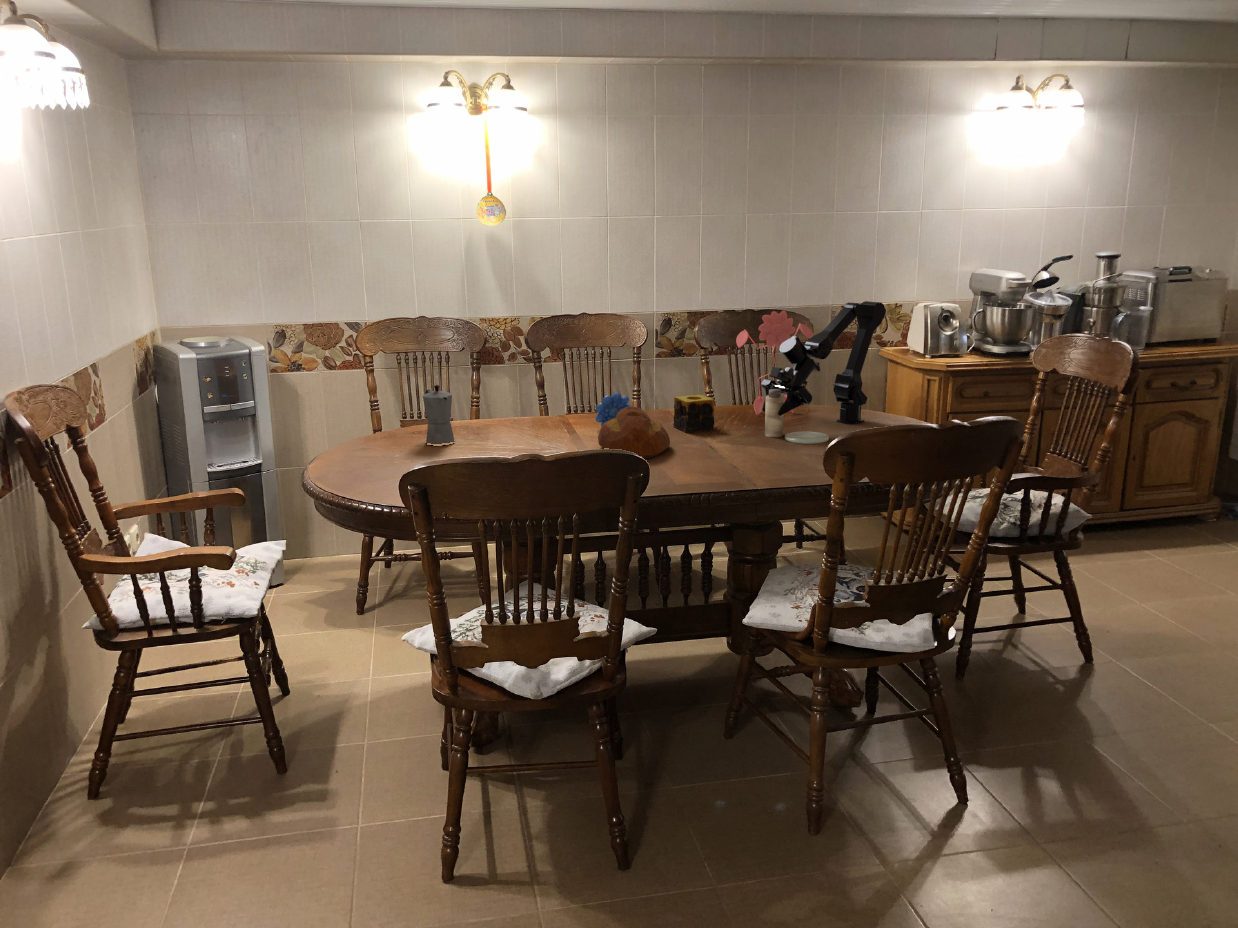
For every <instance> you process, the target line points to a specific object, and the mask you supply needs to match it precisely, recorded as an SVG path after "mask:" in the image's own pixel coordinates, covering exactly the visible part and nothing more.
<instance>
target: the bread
mask: <svg viewBox="0 0 1238 928" xmlns="http://www.w3.org/2000/svg"><path fill="white" fill-rule="evenodd" d="M597 441H598V445H599V446H600V447H601V448H602V449H603V448H609V449H622V450H626V451H630V452H634V453H636V454H638V455H639V456H642V457H643V458H645V459H650V458H653V457H656V456H657V455H660V454H661V453H663V452H664V451H666V450H667V449H668V448H669V446H670V444H671V439H670V436H669V433H668V431H667V430H666V428H665V426H664V425H662V423H659V422H657V421H655V420H652V419H651V417H650V416H649V415H648V412H645V411H644V410H643V409H642V408H640V407H637V406H633V405H630V407H627V408H623V409H621V410H620V411H619V412H618V413H617V415H616V418H613V419H611V420H609V421H607V422H605V423H604V424H603V425H602V427H601V426H600V429H599V432H598V435H597Z"/></svg>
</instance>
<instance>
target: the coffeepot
mask: <svg viewBox="0 0 1238 928" xmlns="http://www.w3.org/2000/svg"><path fill="white" fill-rule="evenodd" d="M422 398H423V399H422V401H423V404H424V405H423V406H424V409H425V414H426V418H427V429H426V430H427V431H426V440H425V441H426V442H425V444H426V443H431V444H442V443H450V442H456V440H455V436H454V431H453V427H452V422H451V417H452V416H451V414H452V413H451V412H452V401H453V394H452V392H447V391H444V390H443V391H442V390H440V385H438V384H435V385H434V390H431V389H426V390H425V392H424V394H423V393H422ZM454 440H455V441H454Z"/></svg>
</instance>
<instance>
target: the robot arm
mask: <svg viewBox="0 0 1238 928" xmlns="http://www.w3.org/2000/svg"><path fill="white" fill-rule="evenodd" d="M886 313H887V310H886V307H885V305H884V304H883V302H879V301H870V300H869V301H867V300H865V301H863V302H862V303H858V302H851V301H850V302H846V303H845V304H844V305H843V307H842V309H841V310H840V311H839V313H837V315H835V317H834V318H833V319H832V320H831V321H830V322H829V323H828V324H827V325H826V327H825V328H824V329H823V330H821V332H819V333H816V334H814V336H813V337H811V338H810V339H809V338H808V339H807V341H806V342H805V343H803V342H802V341H801V339H800V338H799V336H797V335H796V336H794V335H792V336H791V338H790V339H788V340H786V341H784V342H783V343H782V344H781V345H780V348H778V349H779V351H780V353H781V354H782V355H783V357H785V359H786V360H787V361H788V362H789V364H792V367H788V366H787V367H785V368H782V367H778V366H776V367H775V365H774V366H772V367H771V370H770V372H769V373H770V374H769V375H768V376H769V377H770V378H774V379H775V380H776V381H775V380H774V379H770V378H766V379H765V378H764V379H763V380H762V382H761V383H760V387H762V388H763V389H764V391H765V398H764V400H765V401H764V404H763V408H762V412H763V413H765V402H766V396H768V395H769V390H770V389H779V390H781V394H785V395H787V399H786V400H785V402H784V404H783V405H782V407H781V408H780V410H779V412H778V415H779V416H781V415H783V416H784V415H785V414H786V413H789V412H790V410H792V409H794V410H795V409H796V408H799V407H801V406H802V407H803V406H804V405H810V404H811V403H812V401H813V395H812V394H811V392H810V391H809V390H808V389H807V387H806V386H807V385H808V381H807V380H808V378H809V377H810V376H811V374H812V373H813V372H820V371H821V367H820V362H817V361H816V360H814V359H818V360H825V359H827V358H828V357H829V356H830V353H832V351H833V349H834V346H835V345H834V344H835V342H836V340H838V338H839V337H840V336H841V335H842V334H843V333H844V332H845V330H846V329H847V328H848V327H849V326H850V325H851V324H852V322H853V321H854V320H855V319H856V321H857V325H858V327H857V331H856V334H855V337H854V342H853V344H852V348H851V351H850V353H849V357H848V361H847V364H846V366H845V369H844V371H842V373H837V374H836V375H835V381H834V382H833V385H832V386H833V393H834V396H835V400H836V402H837V403H840V408H839V418H838V419H836V422H840V423H844V424H849V425H854V424H859V423H863V422H865V419H862V418H861V417H862V406H863V405H866V403H867V401H868V397H867V395H866V394H865V393H864V391H862V387H863V380H862V374H861V373H862V370H863V367H864V365H865V360H866V357H867V354H868V351H869V348H870V345H871V342H872V338H873V335H874V332H875V331H876V330H877V329H878V328H879V327H880V325H881V324H882V323H883V320H884V318H885V317H886ZM779 384H780V385H779Z"/></svg>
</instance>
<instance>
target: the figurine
mask: <svg viewBox="0 0 1238 928" xmlns="http://www.w3.org/2000/svg"><path fill="white" fill-rule="evenodd" d="M761 318H762V321H763V323H762V324H760V325H759V326H758V331H759V332H760V333H759V337H758V339H759V340H760V341H766V345H762V346H758V345H757V343H755V341H754V339H753V338H752V337H751V336H750V335H749V332H748V331H747V329H743V330H742V331H740V332H739V333H738V335H737V336H736V340H735V341H736V346H737V348H738V349H740V348H742V347H743V346H744V345H745V344H746V343H747V341H748V338H749V339H750V341H751V342H752V343H753V345H754V346H755V348H756V349H757V350H759V349H762V348H766V347H767V348H770V349H771V348H772V347H773V348H772V352H771V355H772V359H773V363H774V367H777V364H776V363H777V362H776V359H775V358H776V357H775V347H777V348H778V349H779V348H780V345H781V344H782V343H783V342H784V341H786V340H788V339H790V338H791V337H792V336H791V335H792V334H794V335H793V336H797V334H798V332H799V330H800V332H801V333H802V334H803V335H804V336H805V337H806V338H807V339H808V340H809V339H810V338H811V337H813V336H814V335H815V334H814V332H813V331H812V329H811V328H809V326H807V325H806V324H803V323H799V324H798V326H797V329H796V327H794V326H793V324H794V318H792V317H789V318H788V314H787V310H781V312H780V313H778V312H777V311H772V312H771V314H764V315H762V317H761ZM794 332H795V333H794ZM770 373H771V372H769V373H767V374H764V375H762V376H759V377H758V379H757V382H758V393H759V394H758V396H757V397H756V398H755V399H754V401H753V409H754V412H755V414H756V416H758V415H760V414H761V413H762V412H763V411H762V408H763V404H764V401H765V398H764V397H763V396H762V395H761V383H760V379H763V378H764V377H767V376H769V375H770ZM783 396H784V402H785V400H786V399H787V394H785V395H783ZM794 410H795V408H794V409H792V410H790V411H789V412H791V414H794ZM806 416H807V414H806V415H803V416H799V417H797V419H801V418H802V417H803V418H804V417H806ZM793 419H795V417H793V418H789V420H793ZM784 420H786V418H783V421H784Z"/></svg>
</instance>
